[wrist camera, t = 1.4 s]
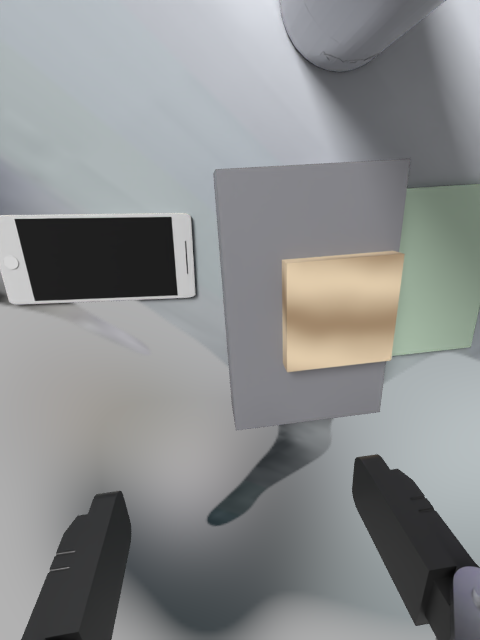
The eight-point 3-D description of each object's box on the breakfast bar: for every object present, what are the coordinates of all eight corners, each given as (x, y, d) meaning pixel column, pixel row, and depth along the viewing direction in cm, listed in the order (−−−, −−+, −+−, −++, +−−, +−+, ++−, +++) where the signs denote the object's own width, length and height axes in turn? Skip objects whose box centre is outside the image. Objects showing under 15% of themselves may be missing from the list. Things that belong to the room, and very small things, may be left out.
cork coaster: (281, 259, 24) (286, 263, 23) (393, 250, 25) (404, 253, 24) (282, 363, 28) (287, 372, 26) (381, 352, 28) (391, 360, 27)
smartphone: (-9, 214, 25) (-17, 215, 24) (191, 212, 27) (190, 213, 26) (15, 302, 28) (9, 305, 27) (195, 294, 29) (195, 298, 28)
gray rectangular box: (213, 173, 25) (215, 169, 22) (381, 164, 27) (410, 158, 23) (231, 404, 33) (236, 430, 30) (360, 389, 35) (379, 411, 31)
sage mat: (384, 189, 27) (388, 189, 27) (501, 182, 28) (507, 182, 28) (367, 355, 33) (370, 358, 33) (466, 344, 34) (470, 347, 34)
